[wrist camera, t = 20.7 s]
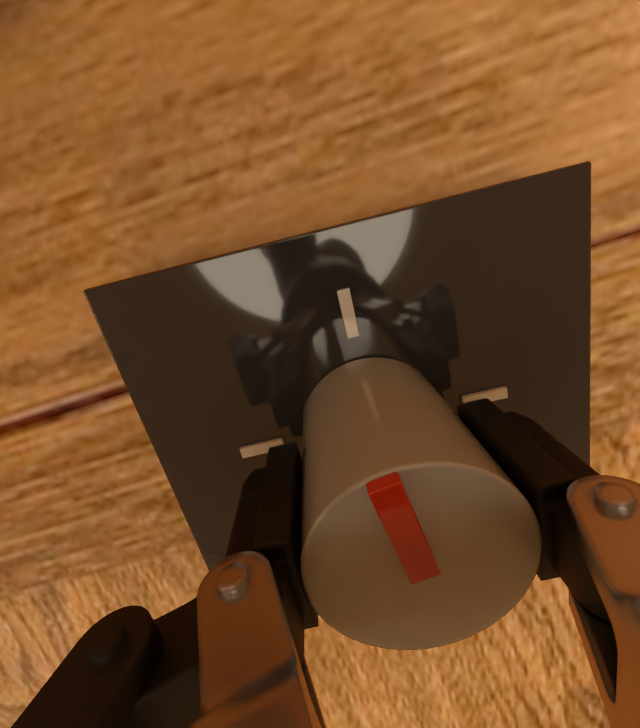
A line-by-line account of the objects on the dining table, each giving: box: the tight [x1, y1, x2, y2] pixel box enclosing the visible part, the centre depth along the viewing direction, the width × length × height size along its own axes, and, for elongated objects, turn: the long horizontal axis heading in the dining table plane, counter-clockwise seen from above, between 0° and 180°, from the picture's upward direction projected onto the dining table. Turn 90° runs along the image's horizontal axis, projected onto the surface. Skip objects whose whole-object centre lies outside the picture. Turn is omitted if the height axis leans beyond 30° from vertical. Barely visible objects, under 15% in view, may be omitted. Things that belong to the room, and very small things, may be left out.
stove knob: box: [300, 357, 542, 650], centre depth 9 cm, size 4×4×6 cm
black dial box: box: [84, 161, 591, 571], centre depth 13 cm, size 14×12×3 cm
